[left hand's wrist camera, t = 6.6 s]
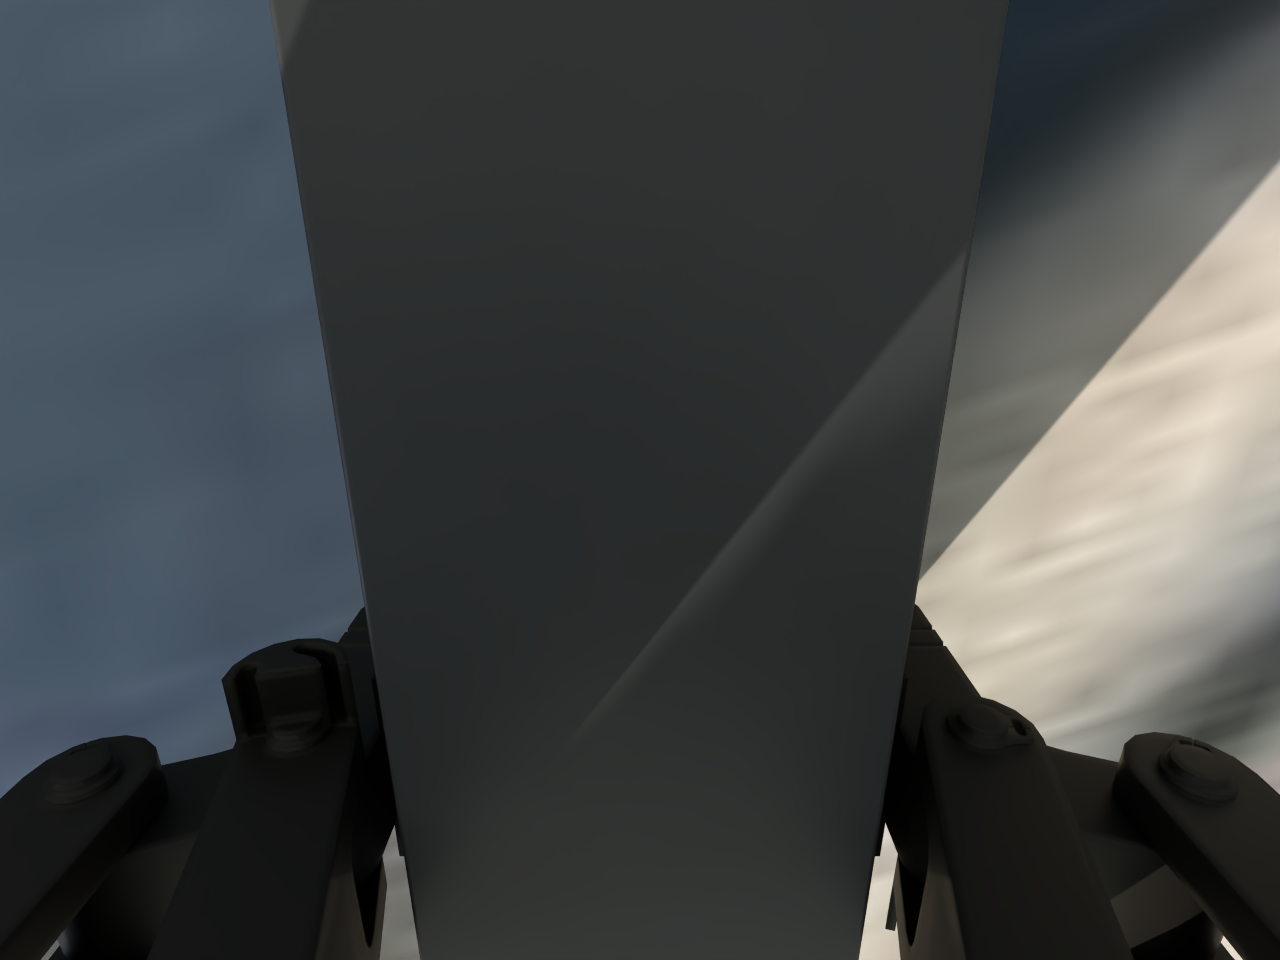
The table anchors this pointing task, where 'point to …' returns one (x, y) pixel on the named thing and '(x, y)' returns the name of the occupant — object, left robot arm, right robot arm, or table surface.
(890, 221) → the beam
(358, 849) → the left robot arm
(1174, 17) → the table surface
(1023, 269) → the table surface
